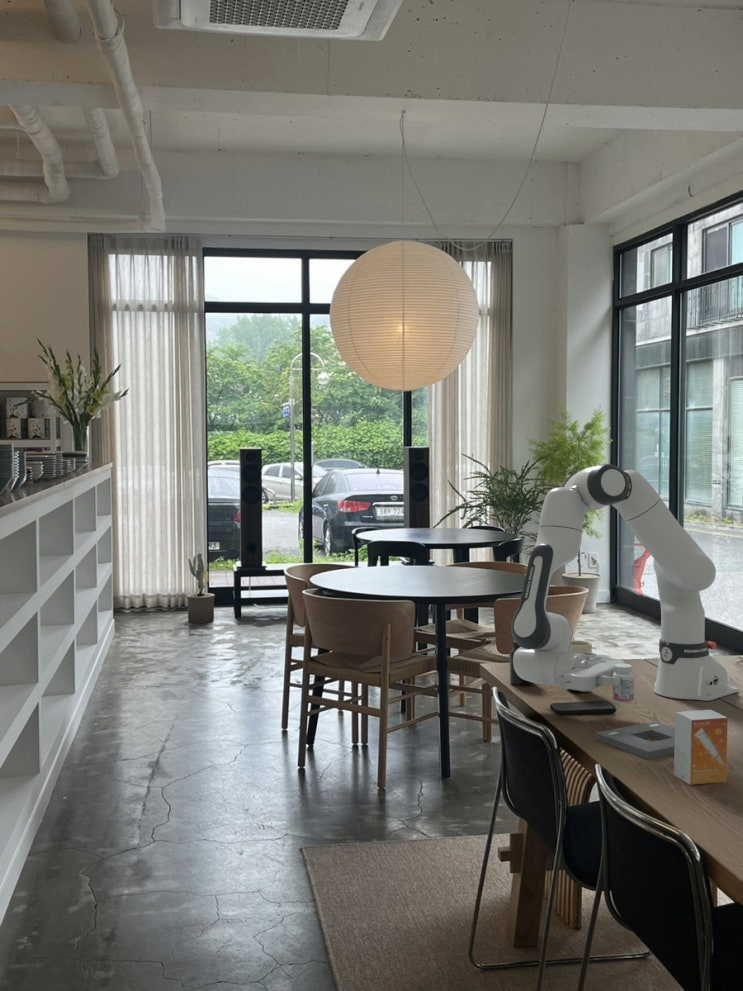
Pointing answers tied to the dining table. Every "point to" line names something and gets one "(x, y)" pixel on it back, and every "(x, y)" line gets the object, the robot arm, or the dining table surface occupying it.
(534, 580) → the robot arm
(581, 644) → the character mug
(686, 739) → the small box
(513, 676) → the supplement bottle
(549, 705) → the dining table surface
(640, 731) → the socket plate
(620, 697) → the pill bottle
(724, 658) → the dining table surface
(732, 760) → the dining table surface
